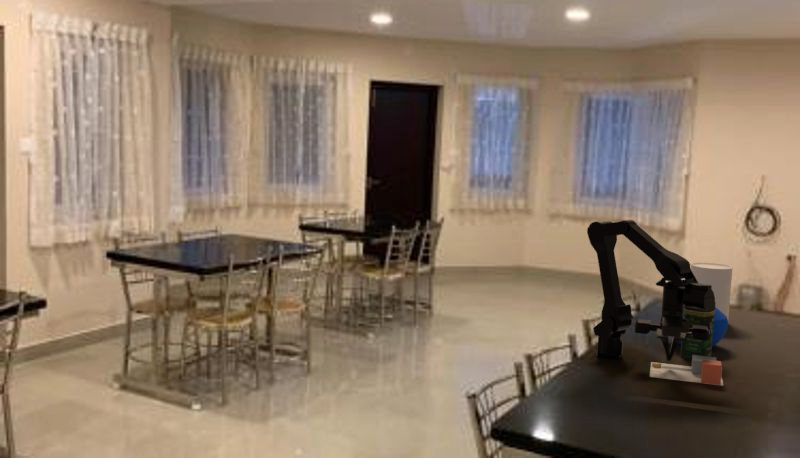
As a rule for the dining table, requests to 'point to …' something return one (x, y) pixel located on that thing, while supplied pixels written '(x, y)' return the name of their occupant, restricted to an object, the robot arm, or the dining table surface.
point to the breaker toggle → (699, 363)
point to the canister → (715, 282)
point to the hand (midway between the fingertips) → (668, 360)
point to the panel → (676, 372)
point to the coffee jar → (690, 343)
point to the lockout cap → (711, 372)
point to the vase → (717, 326)
